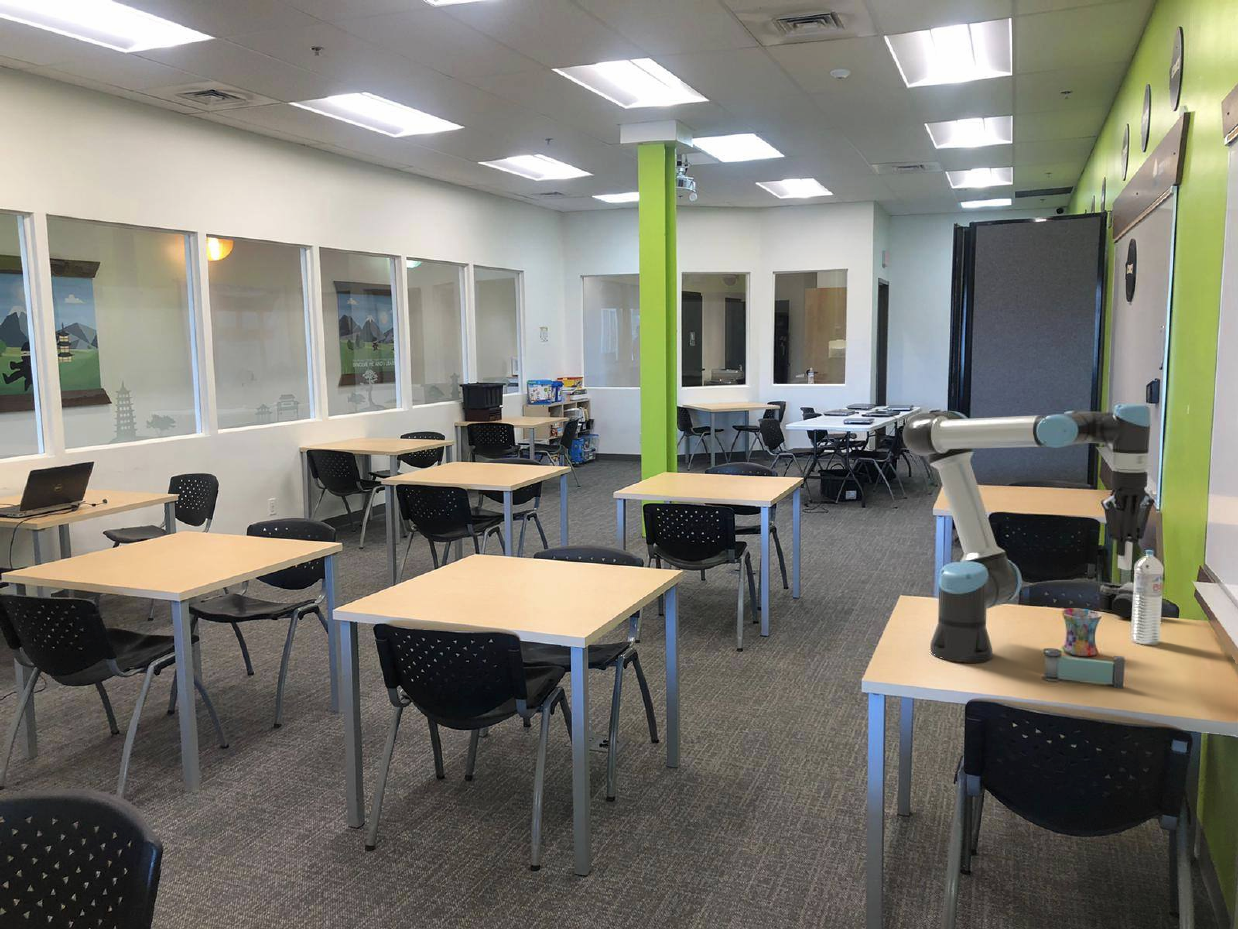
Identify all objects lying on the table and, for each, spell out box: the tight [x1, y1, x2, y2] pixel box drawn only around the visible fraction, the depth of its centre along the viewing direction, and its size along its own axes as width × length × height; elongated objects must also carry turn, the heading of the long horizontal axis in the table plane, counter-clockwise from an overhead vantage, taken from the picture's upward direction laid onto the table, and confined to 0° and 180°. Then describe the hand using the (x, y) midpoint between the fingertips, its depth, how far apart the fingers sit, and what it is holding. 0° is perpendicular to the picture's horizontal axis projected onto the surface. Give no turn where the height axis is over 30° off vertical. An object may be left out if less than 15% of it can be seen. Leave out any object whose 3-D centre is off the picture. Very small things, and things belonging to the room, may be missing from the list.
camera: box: [1098, 580, 1134, 619], centre depth 273 cm, size 16×10×10 cm, turn 48°
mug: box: [1061, 607, 1103, 657], centre depth 242 cm, size 12×9×11 cm
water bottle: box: [1130, 549, 1165, 646], centre depth 248 cm, size 7×7×25 cm
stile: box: [1109, 655, 1126, 689], centre depth 217 cm, size 3×3×7 cm
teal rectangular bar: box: [1044, 655, 1114, 685], centre depth 220 cm, size 14×3×5 cm, turn 67°
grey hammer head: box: [1042, 647, 1063, 683], centre depth 222 cm, size 4×4×7 cm
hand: (1124, 568), depth 221 cm, fingers closed
